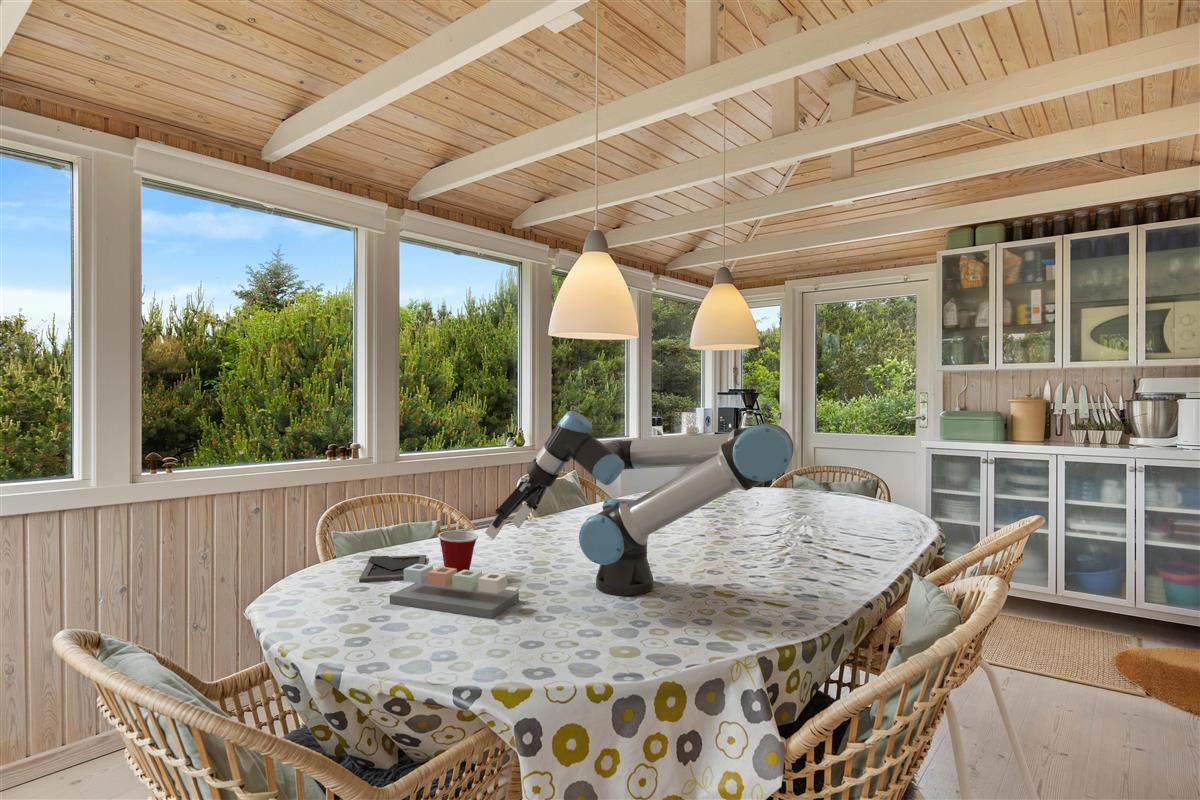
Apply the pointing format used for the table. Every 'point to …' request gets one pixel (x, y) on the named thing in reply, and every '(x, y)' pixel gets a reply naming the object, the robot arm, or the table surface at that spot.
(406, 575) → the key blue
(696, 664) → the table surface
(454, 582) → the key sage
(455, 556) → the plastic cup
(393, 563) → the picture frame
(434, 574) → the key terracotta
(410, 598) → the keypad base
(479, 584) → the key ivory
